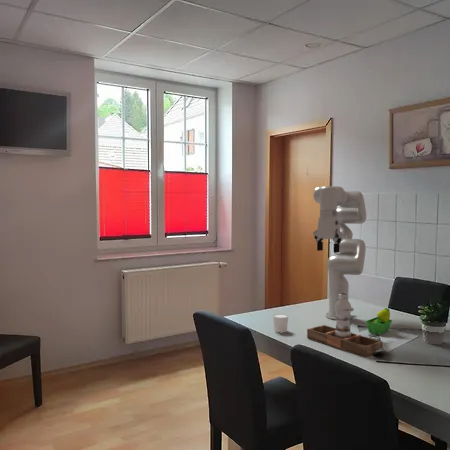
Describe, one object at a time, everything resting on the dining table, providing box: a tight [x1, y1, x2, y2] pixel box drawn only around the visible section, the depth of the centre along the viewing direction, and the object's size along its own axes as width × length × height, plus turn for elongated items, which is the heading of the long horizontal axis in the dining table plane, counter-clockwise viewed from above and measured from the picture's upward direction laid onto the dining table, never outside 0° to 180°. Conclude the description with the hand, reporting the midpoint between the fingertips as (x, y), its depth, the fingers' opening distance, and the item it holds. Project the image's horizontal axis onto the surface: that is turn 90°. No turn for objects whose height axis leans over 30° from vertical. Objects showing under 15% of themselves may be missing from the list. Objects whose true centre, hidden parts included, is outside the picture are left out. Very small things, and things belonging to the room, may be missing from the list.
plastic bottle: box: [335, 293, 352, 340], centre depth 190 cm, size 6×7×20 cm
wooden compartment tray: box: [306, 324, 384, 358], centre depth 190 cm, size 11×30×4 cm, turn 36°
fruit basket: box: [365, 307, 393, 335], centre depth 208 cm, size 11×9×11 cm
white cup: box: [272, 313, 289, 334], centre depth 210 cm, size 7×7×7 cm
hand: (328, 251), depth 209 cm, fingers open, 9 cm apart
